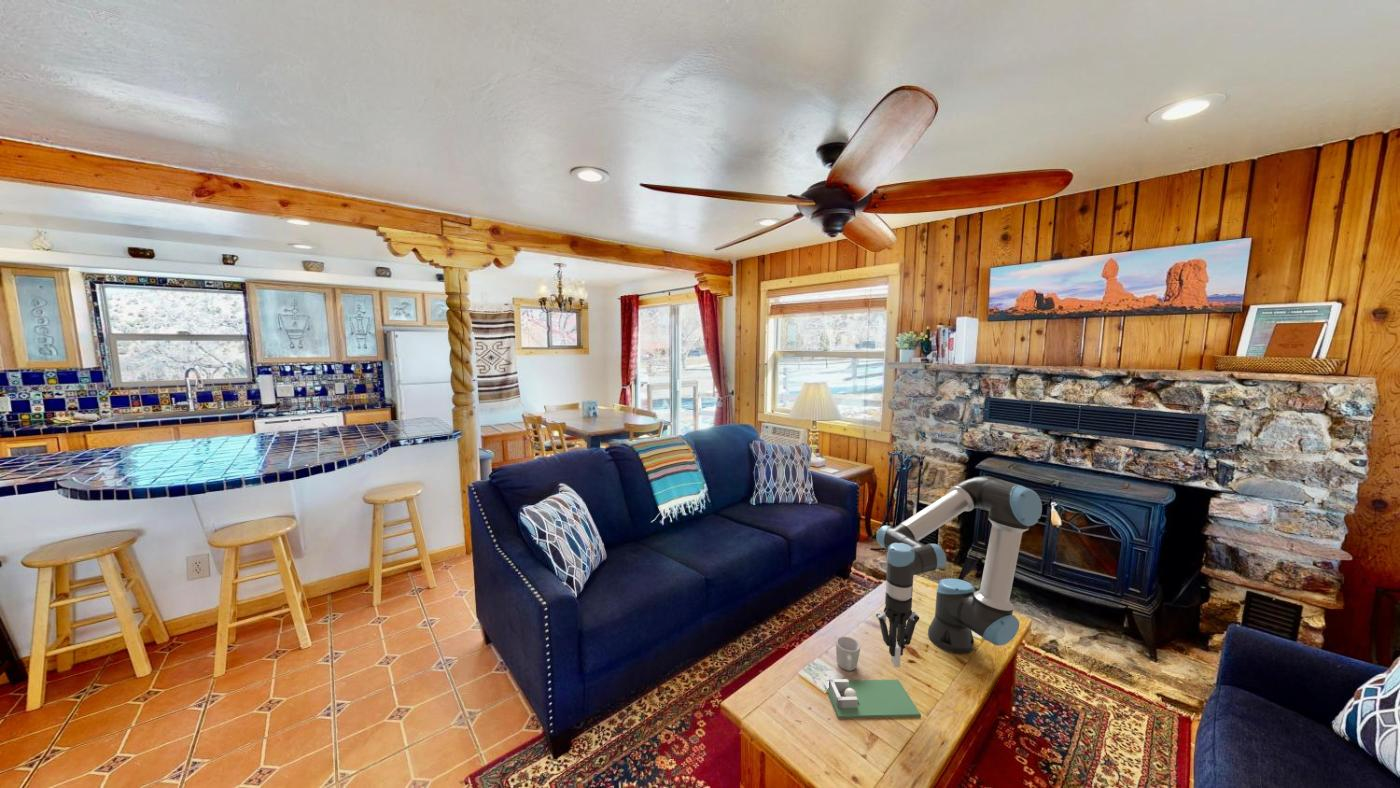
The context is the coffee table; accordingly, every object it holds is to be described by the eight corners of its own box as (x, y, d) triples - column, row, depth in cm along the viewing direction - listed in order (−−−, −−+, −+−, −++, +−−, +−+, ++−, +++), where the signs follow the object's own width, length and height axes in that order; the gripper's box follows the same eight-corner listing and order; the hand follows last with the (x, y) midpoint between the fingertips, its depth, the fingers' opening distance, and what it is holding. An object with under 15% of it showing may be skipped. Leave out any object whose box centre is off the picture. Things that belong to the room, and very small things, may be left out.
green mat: (898, 681, 150) (898, 679, 150) (920, 716, 136) (920, 714, 136) (823, 682, 149) (823, 680, 149) (838, 718, 135) (838, 715, 135)
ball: (850, 682, 143) (840, 689, 143) (854, 691, 140) (844, 698, 140) (855, 691, 144) (846, 697, 144) (860, 700, 140) (850, 706, 140)
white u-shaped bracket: (846, 689, 146) (847, 679, 146) (857, 710, 138) (857, 699, 138) (828, 689, 146) (829, 679, 146) (837, 710, 138) (838, 700, 137)
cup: (861, 681, 150) (863, 658, 149) (836, 677, 151) (837, 655, 150) (857, 659, 160) (858, 638, 159) (833, 655, 162) (835, 634, 161)
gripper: (913, 586, 145) (909, 654, 148) (872, 588, 144) (870, 656, 147) (926, 600, 137) (921, 671, 141) (883, 602, 137) (880, 674, 140)
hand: (895, 664), depth 144 cm, fingers closed
